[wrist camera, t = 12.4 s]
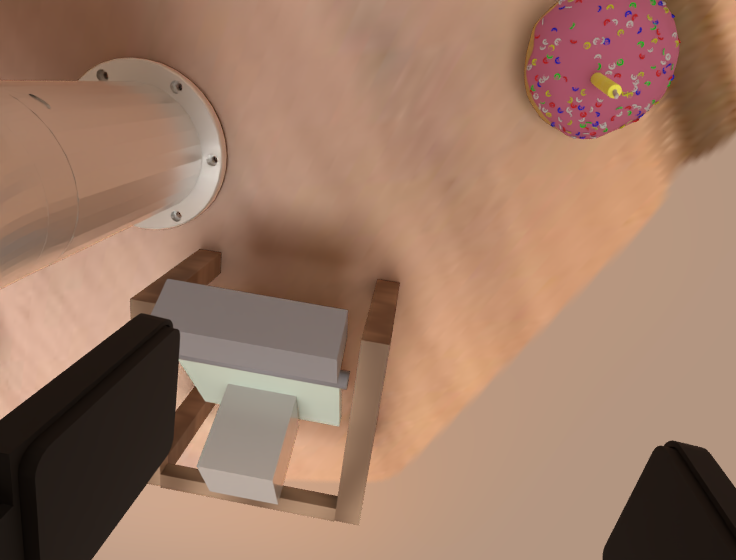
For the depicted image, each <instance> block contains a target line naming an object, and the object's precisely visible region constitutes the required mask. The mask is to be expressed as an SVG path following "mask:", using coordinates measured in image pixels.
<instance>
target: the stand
mask: <svg viewBox="0 0 736 560" xmlns="http://www.w3.org/2000/svg"><path fill="white" fill-rule="evenodd" d="M220 273H221V252H215V251H209V250H203V249H199V250H198V251H196V252H195V253H194V254H192V255H191V256H189V257H188V258H187V259H185V260H184V261H182V262H181V263H180V264H178V265H177V266H176V267H174V268H173V269H171V270H170V271H169V272H167V273H166V274H164V275H163V276H162V277H160V278H159V279H157V280H156V281H155V282H153V283H152V284H150V285H149V286H148V287H146V288H145V289H144V290H142V291H141V292H139V293H138V294H137V295H135V296H134V297H132V298H131V299H130V311H131V320H132V319H133V318H134V317H136V316H137V315H139V314H140V313H145V314H149V315H151V313H152V311H153V308H154V306H155V304H156V302H157V300H158V298H159V295H160V293H161V291H162V289H163V287H164V285H165V282H166V280H167V279H172V280H178V281H184V282H189V283H195V284H201V285H208V284H209V283H210V282H211V281H212V280H213V279H214V278H215V277H217V276H218V275H219V274H220ZM399 284H400V283H397V282H391V281H385V280H380V279H378V280H377V283H376V287H375V291H374V295H373V298H372V302H371V306H370V310H369V313H368V317H367V321H366V325H365V328H364V332H363V336H362V340H361V346H360V352H359V359H358V366H357V372H356V379H355V386H354V392H353V399H352V406H351V412H350V419H349V426H348V432H347V439H346V446H345V452H344V459H343V466H342V472H341V479H340V486H339V492H338V496H334V495H329V494H324V493H319V492H314V491H308V490H303V489H298V488H293V487H288V486H283V488H282V491H281V495H280V499H279V503H278V505H277V504H272V503H267V502H262V501H257V500H252V499H247V498H242V497H237V496H231V495H226V494H221V493H216V492H211V491H209V489H208V487H207V485H206V483H205V481H204V479H203V477H202V476H201V474H200V472H199V470H198V469H195V468H190V467H185V466H180V465H175V464H176V462H177V461H178V459H179V458H180V456H181V455H182V453H183V452H184V450H185V449H186V447H187V446H188V444H189V443H190V441H191V440H192V438H193V437H194V435H195V434H196V432H197V431H198V429H199V428H200V426H201V425H202V423H203V422H204V420H205V419H206V417H207V416H208V414H209V413H210V411H211V410H212V408H213V407H214V405H215V404H216V403H211V402H206V401H205V400H204V399H203V397H202V396H201V394H200V393H199V391H198V389H197V388H196V386H195V387H194V388H193V390H192V391H191V392H190V393H189V395H188V396H187V397H186V399H185V400H184V401H183V402H182V404H181V405H180V406H179V408H178V409H177V410H176V412H175V425H174V438H173V443H172V447H171V449H170V451H169V454H168V455H167V457H166V458H165V460H164V461H163V463H162V464H161V465H160V467H159V468H158V469H157V471H156V472H155V474H154V475H153V476H152V478H151V479H150V480H149V482H148V483H147V484H151V485H157V486H161V488H166V489H172V490H176V491H182V492H187V493H192V494H197V495H202V496H207V497H212V498H217V499H222V500H228V501H232V502H237V503H243V504H248V505H253V506H258V507H263V508H268V509H273V510H278V511H283V512H288V513H293V514H298V515H303V516H309V517H313V518H319V519H324V520H329V521H340V522H344V523H350V524H354V525H359V521H360V516H361V510H362V504H363V498H364V493H365V487H366V482H367V476H368V470H369V464H370V459H371V453H372V447H373V441H374V436H375V430H376V424H377V418H378V413H379V407H380V401H381V396H382V390H383V384H384V378H385V373H386V367H387V361H388V355H389V350H390V344H391V337H392V331H393V324H394V317H395V311H396V304H397V298H398V291H399Z"/></svg>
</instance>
